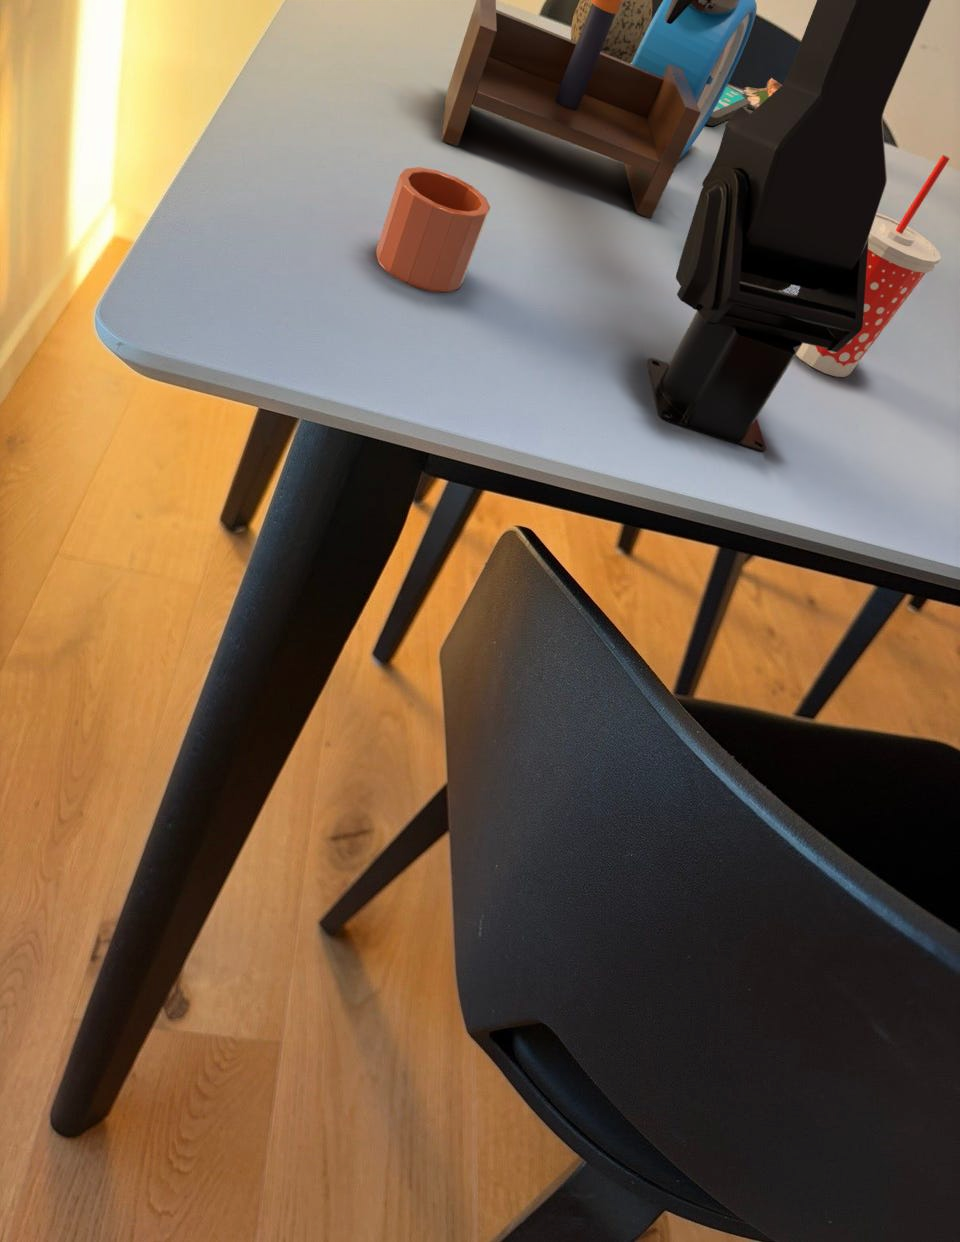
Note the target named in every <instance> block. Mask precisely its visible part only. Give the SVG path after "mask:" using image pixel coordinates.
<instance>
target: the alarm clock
mask: <svg viewBox="0 0 960 1242" xmlns="http://www.w3.org/2000/svg"><path fill="white" fill-rule="evenodd" d="M671 1H672V0H662V2H661V3H660V5H659V6H658V8H657V9H656V12H655V14H654V15H653V16H652V19H651V23H650V25H649V27H648V29H647V31H646V33H645V35H644V37H643V39H642V41H641V43H640V45H639V47H638V49H637V52H636V54H635V56H634V59H633V61H632V62H631V63H630V64H632V65H635V66H637V67H640V68H642V69H645V70H647V71H650V72H652V73H655V74H657V75H659V76H662V77H663V74H664V72H665V70H666V68H667V65H668V64H671V65H673V66H676V67H678V68H681V69H682V70H683V72H684V75H685V77H686V79H687V82H688V84H689V86H690V89H691V91H692V93H693V96H694V98H695V100H696V103H697V105H698V107H699V110H700V112H701V114H700V116H699V118H698V120H697V122H696V124H695V126H694V129H693V131H692V133H691V135H690V137H689V139H688V141H687V143H686V145H685V148H684V150H683V152H682V154H681V156H680V158H681V157H683V156H684V155H686V153H687V152H688V151H689V150H690V149H691V147H692V146H693V144H694V143H695V142H696V140H697V139H698V137H699V135H700V134H701V132H702V131H703V129H704V127H705V126H706V125H707V124H706V123H707V121H708V119H709V118H710V116H711V114H712V112H713V111H714V109H715V107H716V105H717V103H718V101H719V100H720V98H721V96H722V94H723V92H724V90H725V88H726V86H727V85H728V84H729V82H730V80H731V78H732V76H733V73H734V72H735V69H736V67H737V65H738V63H739V62H740V59H741V56H742V54H743V52H744V50H745V46H746V45H747V42H748V39H749V38H750V34H751V32H752V29H753V26H754V24H755V23H754V22H755V19H756V16H757V11H758V9H757V8H758V7H757V2H756V0H693V1H692V2H691V3H690V5H689V6H688V7H687V8H686V9H685V10H684V11H683V12H682V13H681V14H680V15H679V16H678V18H677V19H676V20H675V21H674V22H673V23H672V24H669V23H666V21H665V17H666V14H667V11H668V9H669V6H670V4H671Z"/></svg>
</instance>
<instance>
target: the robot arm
mask: <svg viewBox="0 0 960 1242" xmlns="http://www.w3.org/2000/svg"><path fill="white" fill-rule="evenodd" d="M692 1H693V0H672V1H671V4H670V6H669V9H668V11H667V14H666V17H665V21H666V23H669V24H672V23H673V22H674V21H675V20H676V19H677V18H678V16H679V15H680V14H681V13H682V12H683V11H684V10H685V9H686V8H687V7H688V6H689V5H690V3H691V2H692ZM931 3H932V0H816V3H815V5H814V7H813V9H812V13H811V14H810V18H809V20H808V23H807V25H806V28H805V31H804V33H803V35H802V38H801V41H800V43H799V45H798V48H797V50H796V54H795V56H794V58H793V62H792V64H791V66H790V69H789V72H788V73H787V76H786V77H785V80H784V82H783V83H782V84H781V85H782V86H781V87H779V88H778V89H777V90H776V91H775V92H774V93H773V94H772V95H771V96H770V97H768V98H767V99H766V100H765V101H764V102H763V103H762V104H761V105H760V106H759V107H757V108H754V110H751V109H749V108H748V109H745V108H742V107H741V108H739V109H737V110H736V112H735V113H734V114H733V115H732V117H731V118H729V119H727V122H726V124H725V127H724V131H723V135H722V137H721V141H720V145H719V148H718V151H717V154H716V156H715V158H714V161H713V163H712V165H711V168H710V170H709V171H708V173H707V175H706V176H705V178H704V179H703V181H702V184H701V185H702V187H701V189H700V193H699V197H698V199H697V203H696V206H695V210H694V213H693V216H692V220H691V222H690V225H689V229H688V231H687V236H686V239H685V243H684V244H683V245H684V246H683V249H682V252H681V255H680V258H679V262H678V267H677V269H676V272H675V273H676V274H675V280H676V281H677V283H678V285H679V286H680V287H679V289H678V290H677V293H676V296H677V298H678V299H679V300H680V301H681V302H682V303H684V304H686V305H687V306H689V307H690V308H692V309H693V310H695V311H696V312H695V314H694V316H693V318H692V319H691V322H690V323H689V325H688V327H687V328H686V331H685V333H684V335H683V336H682V338H681V340H680V342H679V344H678V346H677V348H676V349H675V352H674V354H673V356H672V357H671V358H670V359H671V360H670V361H669V363H668V362H664V361H662V360H659V359H657V358H653V357H651V358H648V359H647V361H646V367H647V371H648V375H649V380H650V384H651V385H650V386H651V389H652V393H653V398H654V399H653V400H654V403H655V407H656V412H657V416H658V418H660V420H662V421H664V422H665V423H669V424H672V425H675V426H677V427H681V428H683V429H687V430H689V431H693V432H696V433H699V434H702V435H705V436H709V437H712V438H715V439H717V440H721V441H723V442H727V443H731V444H733V445H736V446H739V447H742V448H745V449H748V450H751V451H755V452H757V453H761V454H762V455H764V454H765V452H766V450H767V444H766V442H765V439H764V436H763V433H762V430H761V427H760V424H759V421H758V417H759V415H760V413H761V412H762V411H763V409H764V407H765V405H766V404H767V402H768V400H769V399H770V398H771V396H772V394H773V392H774V391H775V389H776V388H777V386H778V384H779V383H780V381H781V380H782V378H783V376H784V374H785V373H786V371H787V369H788V368H789V366H790V365H791V363H792V361H793V360H794V358H795V356H797V355H796V353H797V352H798V350H799V348H800V347H801V345H802V343H805V344H809V345H814V346H818V347H822V348H826V349H827V350H828V351H832V352H838V351H840V350H841V349H842V348H843V347H844V346H845V345H846V344H847V343H848V342H849V341H850V340H851V339H853V338H854V337H855V336H856V335H857V334H858V333H859V332H860V331H861V329H862V326H863V315H864V300H865V285H866V270H867V255H868V240H869V234H870V231H871V228H872V225H873V222H874V219H875V216H876V213H878V210H879V206H880V204H881V201H882V198H883V195H884V192H885V189H886V187H887V181H888V176H887V162H886V148H885V135H884V133H885V132H884V120H883V117H884V113H885V109H886V107H887V105H888V102H889V99H890V98H891V95H892V93H893V90H894V88H895V86H896V83H897V81H898V78H899V76H900V74H901V72H902V70H903V67H904V65H905V62H906V60H907V58H908V56H909V53H910V51H911V48H912V46H913V44H914V42H915V40H916V37H917V35H918V32H919V30H920V28H921V25H922V23H923V21H924V19H925V16H926V14H927V11H928V10H929V7H930V4H931ZM740 271H741V272H745V273H749V274H753V275H757V276H761V277H765V278H769V279H773V280H777V281H780V282H784V283H788V284H792V285H791V286H797V287H799V289H798V290H797V294H794V293H789V292H784V291H782V290H781V291H777V290H773V289H769V288H765V287H761V286H757V285H753V284H749V283H745V282H741V281H740Z"/></svg>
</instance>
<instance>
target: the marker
mask: <svg viewBox="0 0 960 1242" xmlns="http://www.w3.org/2000/svg"><path fill="white" fill-rule="evenodd" d="M622 1H623V0H592V1H591V2H592V5H591V7H590V10H589V13H588V15H587V18H586V20H585V23H584V26H583V28H582V31H581V33H580V36H579V39H578V41H577V44H576V46H575V49H574V52H573V54H572V57H571V59H570V62H569V65H568V67H567V70H566V72H565V75H564V78H563V80H562V83H561V85H560V88H559V91H558V93H557V96H556V101H557V102H558V103H559V104H561V105H562V106H564V107H567V108H569V109H575V110H576V109H578V107H579V104H580V102H581V99H582V97H583V94H584V92H585V89H586V87H587V84H588V82H589V79H590V77H591V74H592V72H593V69H594V67H595V64H596V62H597V59H598V57H599V54H600V52H601V50H602V47H603V45H604V42H605V40H606V37H607V35H608V32H609V30H610V27H611V25H612V22H613V20H614V17H615V15H616V14H617V13H618V11H619V8H620V6H621V3H622Z"/></svg>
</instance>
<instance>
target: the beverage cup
mask: <svg viewBox="0 0 960 1242" xmlns="http://www.w3.org/2000/svg"><path fill="white" fill-rule="evenodd" d="M950 160H951V159H950V157H949V156H946V155H944V154H942V155H941V158H940V159H939V160H938V162H937V163H936V165H935V166H934V167H933V170H932V171H931V173H930V174H929V175H928V178H927V179H926V181H925V182H924V184H923V185H922V187H921V188H920V190H919V192H918V193H917V194H916V196H915V198H914V200H913V201H912V203H911V204H910V206H909V207H908V209H907V211H906V212H905V214H904V215H903V217H902V219H901V220H900V221H898V220H896V219H894V218H892V217H890V216H887V215H884V214H882V213H880V212H877V213H876V216H875V219H874V222H873V225H872V228H871V231H870V234H869V240H868V255H867V270H866V285H865V300H864V315H863V326H862V329H861V331H860V332H859V333H858V334H857V335H856V336H855V337H854V338H853V339H851V340H850V341H849V342H848V343H847V344H846V345H845V346H844V347H843V348H842V349H841V350H840V351H838V352H832V351H828V350H827V349H826V348H822V347H818V346H814V345H809V344H805V343H802V345H801V347H800V348H799V350H798V352H797V353H796V355H795V356H797V357H798V358H799V360H801V361H803V362H804V363H805V364H807V365H808V366H809V367H811V368H813V369H815V370H817V371H819V372H821V373H823V374H826V375H829V376H833V377H836V378H846V377H848V376H850V375H851V373H852V372H853V371H854V370H855V368H856V367H857V365H858V364H859V363H860V361H861V360H862V359H863V357H864V356H865V354H866V353H867V352H868V351H869V350H870V348H871V347H872V345H873V344H874V343H875V341H876V340H877V339H878V337H880V335H881V334H882V332H883V331H884V329H885V328H886V327H887V325H888V324H889V323H890V322H891V320H892V319H893V318H894V316H895V315H896V313H897V312H898V310H900V308H901V307H902V305H904V303H905V301H906V300H907V299H908V297H909V296H910V295H911V294H912V292H913V291H914V290H915V288H916V287H917V285H918V284H919V283H920V282H921V280H922V279H923V277H924V276H925V275H926V274H928V273H930V272H932V271H934V268H935V266H936V265H938V264H939V263H940V262H941V260H942V257H941V252H940V251H939V250H938V249H937V248H936V246H935V245H934V244H933V243H932V242H930V240H928V239H927V238H925V237H924V236H923V235H922V234H920V233H919V232H917V231H915V230H914V229H912V228H910V227H909V224H910V222H912V221H911V220H913V217H914V216H915V214H917V211H918V210H919V208H920V206H921V205H922V203H923V202H924V200H925V199H926V197H927V195H928V194H929V192H930V191H931V189H932V188H933V186H934V185H935V183H936V181H937V180H938V178H939V177H940V175H941V174H942V172H943V171H944V170H945V167H946V166H947V164H948V162H949V161H950Z"/></svg>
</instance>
